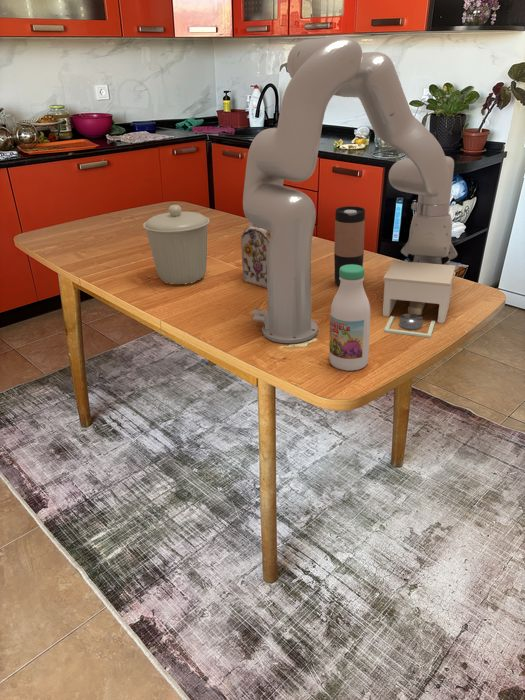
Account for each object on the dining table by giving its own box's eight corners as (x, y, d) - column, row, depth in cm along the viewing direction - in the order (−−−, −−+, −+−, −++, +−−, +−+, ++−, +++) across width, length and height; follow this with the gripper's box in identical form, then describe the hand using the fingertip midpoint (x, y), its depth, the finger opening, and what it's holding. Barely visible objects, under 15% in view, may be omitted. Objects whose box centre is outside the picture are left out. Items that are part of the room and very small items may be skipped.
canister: (181, 265, 171) (173, 195, 162) (227, 274, 162) (221, 201, 152) (137, 283, 159) (126, 208, 149) (184, 295, 149) (175, 216, 139)
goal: (384, 331, 124) (384, 329, 124) (390, 318, 131) (390, 316, 130) (430, 337, 121) (430, 335, 120) (434, 323, 127) (435, 321, 127)
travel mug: (345, 276, 156) (347, 204, 147) (368, 282, 151) (371, 208, 142) (328, 284, 152) (328, 210, 142) (350, 291, 147) (353, 214, 137)
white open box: (381, 316, 132) (383, 277, 127) (390, 296, 142) (393, 260, 138) (445, 323, 127) (450, 283, 122) (451, 303, 137) (455, 265, 132)
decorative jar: (273, 291, 149) (270, 224, 141) (241, 282, 156) (237, 217, 148) (301, 278, 157) (300, 214, 148) (270, 270, 164) (268, 208, 156)
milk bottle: (342, 350, 117) (345, 258, 108) (375, 360, 113) (380, 265, 104) (321, 364, 112) (322, 269, 103) (355, 375, 108) (359, 277, 99)
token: (400, 330, 125) (401, 322, 124) (398, 321, 129) (398, 313, 128) (423, 331, 124) (424, 323, 123) (420, 321, 129) (421, 313, 128)
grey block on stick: (405, 314, 132) (409, 274, 127) (419, 281, 150) (422, 245, 146) (423, 316, 131) (427, 275, 126) (434, 283, 149) (438, 246, 144)
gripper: (396, 211, 137) (391, 281, 146) (467, 214, 132) (458, 287, 140) (401, 204, 143) (396, 272, 152) (470, 207, 138) (460, 277, 146)
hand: (426, 278), depth 146 cm, fingers closed on grey block on stick, 4 cm apart
